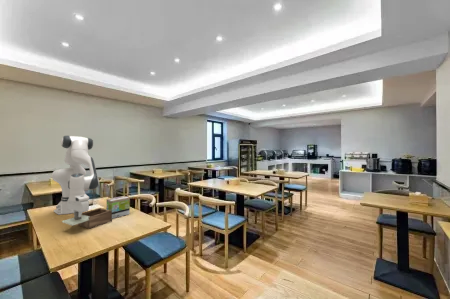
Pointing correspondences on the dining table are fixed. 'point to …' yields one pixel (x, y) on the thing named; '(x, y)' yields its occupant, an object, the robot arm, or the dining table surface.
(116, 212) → the tea box
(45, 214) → the dining table surface
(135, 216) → the dining table surface
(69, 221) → the lid
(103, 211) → the caddy
